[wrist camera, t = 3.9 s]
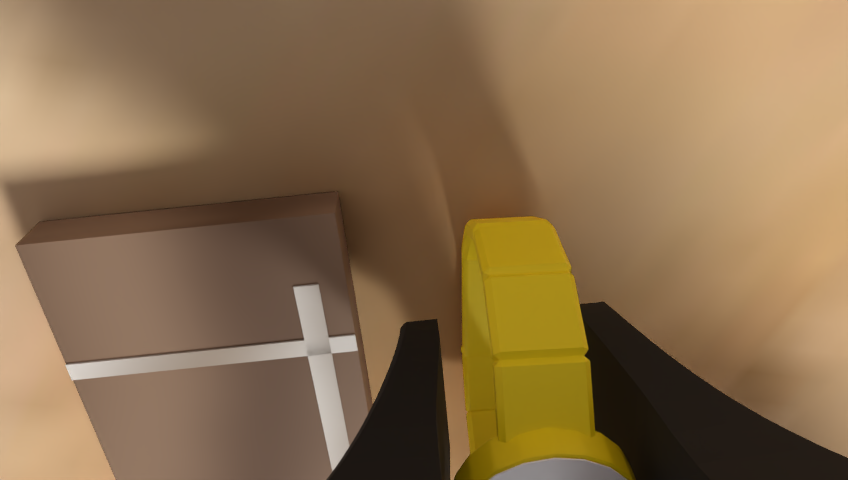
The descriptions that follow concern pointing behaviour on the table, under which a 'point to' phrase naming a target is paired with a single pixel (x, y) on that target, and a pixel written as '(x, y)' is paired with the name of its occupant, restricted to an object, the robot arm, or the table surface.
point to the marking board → (209, 336)
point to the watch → (527, 360)
